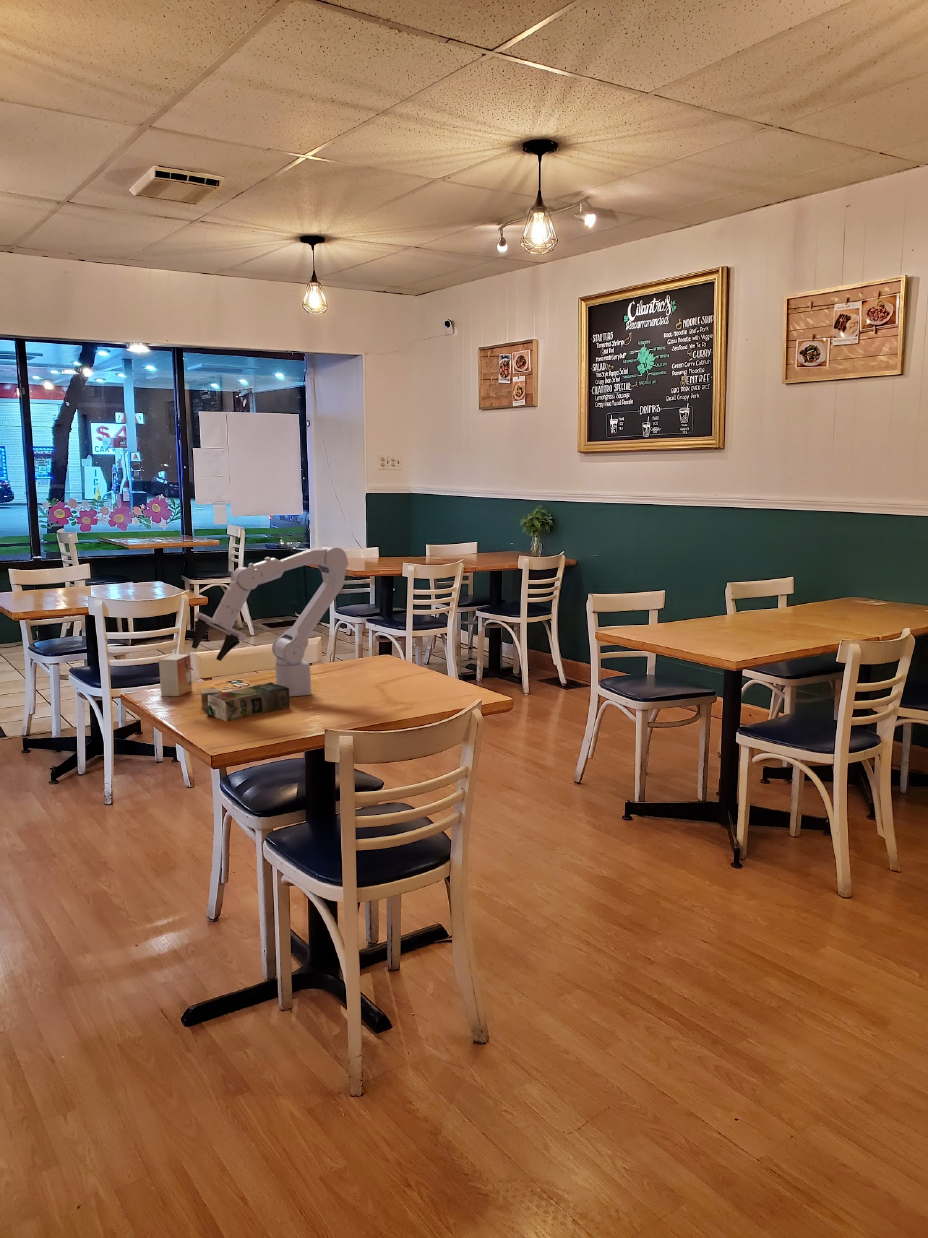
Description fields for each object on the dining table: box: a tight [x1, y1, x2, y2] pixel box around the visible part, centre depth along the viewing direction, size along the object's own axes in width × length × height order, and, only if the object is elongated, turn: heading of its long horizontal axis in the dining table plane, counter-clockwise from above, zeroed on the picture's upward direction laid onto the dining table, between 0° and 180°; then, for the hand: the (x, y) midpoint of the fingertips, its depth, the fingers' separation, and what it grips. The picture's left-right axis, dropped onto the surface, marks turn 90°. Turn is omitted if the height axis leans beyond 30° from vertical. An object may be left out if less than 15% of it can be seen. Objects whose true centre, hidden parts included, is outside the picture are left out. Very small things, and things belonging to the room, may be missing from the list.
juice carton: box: [205, 682, 291, 722], centre depth 244 cm, size 20×10×6 cm, turn 134°
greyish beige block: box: [200, 687, 220, 710], centre depth 248 cm, size 4×4×4 cm
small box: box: [158, 653, 193, 697], centre depth 263 cm, size 8×6×10 cm
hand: (206, 654), depth 248 cm, fingers open, 7 cm apart
